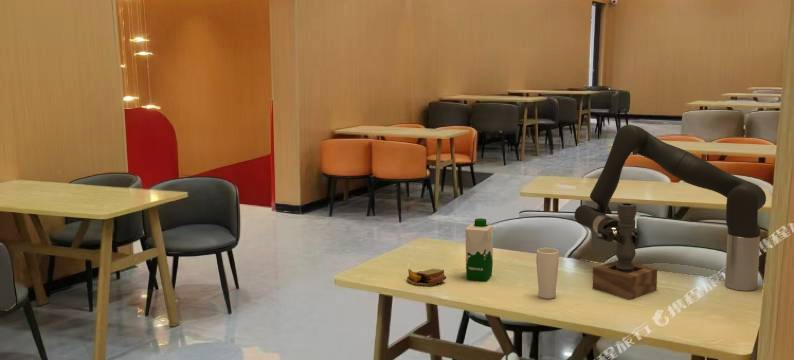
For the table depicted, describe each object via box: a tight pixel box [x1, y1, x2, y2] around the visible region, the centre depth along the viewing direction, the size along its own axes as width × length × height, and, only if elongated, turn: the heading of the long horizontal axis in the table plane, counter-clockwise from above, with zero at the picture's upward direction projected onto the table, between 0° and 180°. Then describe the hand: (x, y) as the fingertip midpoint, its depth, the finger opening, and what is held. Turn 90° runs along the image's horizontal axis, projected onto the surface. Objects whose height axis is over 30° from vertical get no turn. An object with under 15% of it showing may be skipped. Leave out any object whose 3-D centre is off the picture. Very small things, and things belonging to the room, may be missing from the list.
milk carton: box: [464, 217, 494, 283], centre depth 237 cm, size 9×9×20 cm
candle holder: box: [615, 202, 637, 274], centre depth 220 cm, size 6×6×25 cm
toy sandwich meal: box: [406, 268, 448, 286], centre depth 236 cm, size 12×14×5 cm
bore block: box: [592, 260, 658, 300], centre depth 222 cm, size 14×14×7 cm
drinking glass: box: [535, 247, 560, 300], centre depth 216 cm, size 7×7×15 cm
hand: (629, 240), depth 217 cm, fingers closed on candle holder, 4 cm apart
